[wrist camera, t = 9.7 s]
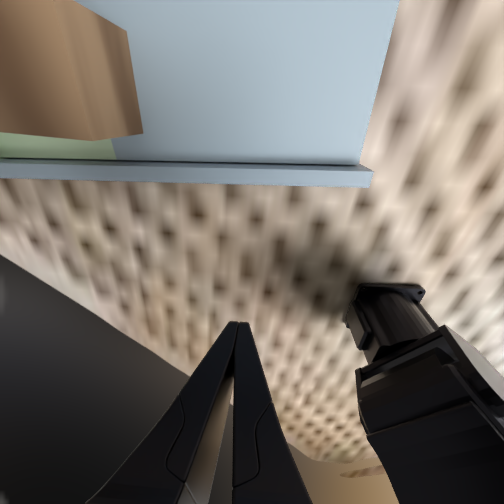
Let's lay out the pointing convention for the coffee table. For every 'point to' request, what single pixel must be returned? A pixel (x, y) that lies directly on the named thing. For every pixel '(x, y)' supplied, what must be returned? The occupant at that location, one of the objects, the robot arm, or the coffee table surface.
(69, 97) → the block
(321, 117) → the trap box
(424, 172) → the coffee table surface
